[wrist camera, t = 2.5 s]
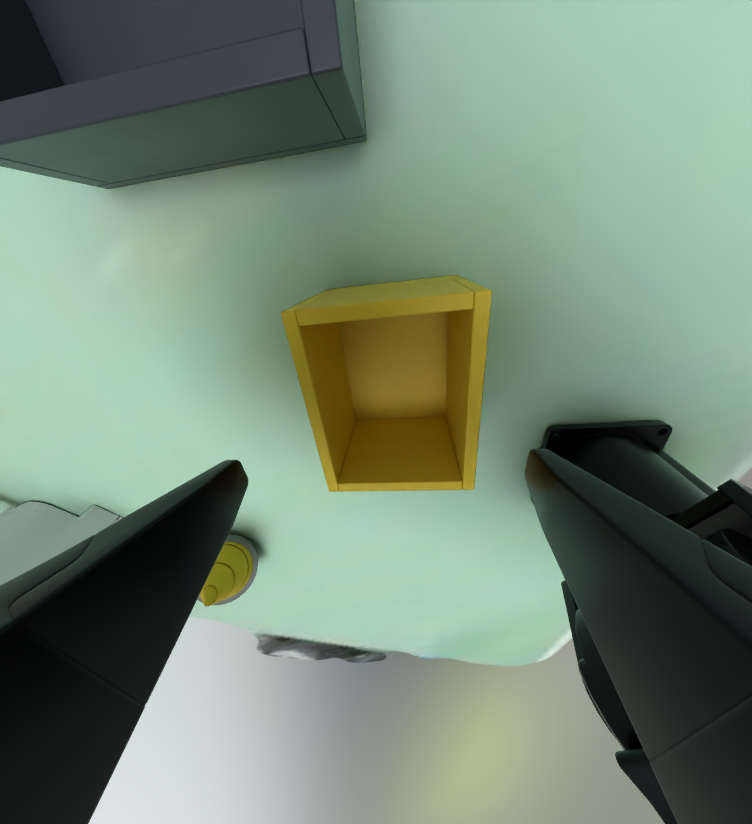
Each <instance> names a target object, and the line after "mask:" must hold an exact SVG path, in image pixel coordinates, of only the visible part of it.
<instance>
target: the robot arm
mask: <svg viewBox="0 0 752 824" xmlns="http://www.w3.org/2000/svg"><path fill="white" fill-rule="evenodd" d="M658 430H659V431H658ZM558 432H559V433H558ZM671 432H672V427H671V426H670V425H668V424H667V423H665V422H663V421H649V422H625V423H601V424H577V425H555V426H552V427H550V428H548V429H547V431H546V433H545V437H544V441H543V446H542V449H532V450H530V451H529V453H528V458H527V464H526V469H525V478H526V482H527V485H528V488H529V491H530V494H531V500H532V502H533V504H534V506H535V509H536V512H537V515H538V518H539V521H540V524H541V527H542V529H543V532H544V534H545V536H546V539H547V541H548V543H549V545H550V547H551V549H552V552H553V554H554V556H555V558H556V560H557V562H558V565H559V567H560V569H561V571H562V573H563V575H564V578H565V581H563V582H562V583H561V585H562V589H563V594H564V599H565V604H566V608H567V613H568V618H569V623H570V627H571V632H572V637H573V642H574V646H575V651H576V656H577V661H578V666H579V672H580V674H581V676H582V680H583V683H584V685H585V688H586V691H587V693H588V695H589V697H590V699H591V700H592V702H593V704H594V706H595V708H596V710H597V711H598V713H599V715H600V717H601V718H602V720H603V721H604V723H605V724H606V726H607V727H608V729H609V730H610V732H611V733H612V734H613V736H614V737H615V738H616V739H617V741H618V742H619V743H620V745H621V746H622V748H623V749H624V750H623V751H618V752H616V753H615V756H616V760H617V762H618V764H619V766H620V767H621V769H622V770H623V771H624V772H625V773H626V775H627V776H628V777H629V778H630V779H631V780H632V782H633V783H634V784H635V785H636V786H637V787H638V789H639V790H640V791H641V792H642V793H643V795H644V796H645V797H646V798H647V799H648V800H649V802H650V803H651V804H652V806H653V807H654V808H655V810H656V811H657V813H658V814H659V815H660V817H661V818H662V820H663V821H664V823H665V824H752V489H750V488H748V487H746V486H744V485H742V484H740V483H738V482H736V481H735V480H733V479H730V480H728V481H727V482H725V483H723V484H722V485H720V486H719V487H717V488H718V489H719V490H718V491H715V490H713V489H712V488H711V487H709V486H708V485H707V484H705V483H704V482H703V481H702V480H700V479H699V478H698V477H696V476H695V475H694V474H692V473H691V472H690V471H689V470H687V469H686V468H685V467H683V466H682V465H681V464H679V463H678V462H677V461H676V460H674V459H673V458H672V457H670V456H669V455H668V454H666V453H665V452H664V451H663V448H664V446H665V444H666V442H667V440H668V438H669V436H670V434H671ZM555 433H558V434H557V435H555V436H553V435H554V434H555ZM247 486H248V477H247V475H246V473H245V471H244V469H243V466H242V464H241V462H240V461H238V460H225V461H223V462H221V463H220V464H218V465H216V466H214V467H213V468H211V469H209V470H207V471H205V472H204V473H202V474H200V475H198V476H197V477H195V478H193V479H191V480H190V481H188V482H186V483H184V484H183V485H181V486H179V487H177V488H175V489H174V490H172V491H170V492H168V493H167V494H165V495H163V496H161V497H160V498H158V499H156V500H154V501H153V502H151V503H149V504H147V505H145V506H144V507H142V508H140V509H138V510H137V511H135V512H133V513H131V514H130V515H128V516H126V517H124V518H122V519H121V520H119V521H117V522H115V523H114V524H112V525H110V526H108V527H107V528H105V529H103V530H101V531H100V532H98V533H97V534H96V535H92V536H91V537H89V538H87V539H85V540H84V541H82V542H80V543H78V544H76V545H75V546H73V547H71V548H69V549H67V550H66V551H64V552H62V553H60V554H58V555H57V556H55V557H53V558H51V559H49V560H48V561H46V562H44V563H42V564H40V565H38V566H36V567H34V568H32V569H31V570H29V571H27V572H25V573H23V574H21V575H19V576H17V577H16V578H14V579H12V580H10V581H8V582H6V583H4V584H2V585H0V824H88V823H89V821H90V819H91V817H92V815H93V813H94V811H95V809H96V807H97V805H98V802H99V801H100V798H101V796H102V794H103V792H104V790H105V788H106V786H107V784H108V782H109V780H110V778H111V776H112V774H113V772H114V770H115V768H116V765H117V763H118V761H119V759H120V757H121V755H122V753H123V751H124V749H125V747H126V745H127V743H128V741H129V739H130V737H131V735H132V732H133V731H134V728H135V726H136V724H137V722H138V720H139V718H140V716H141V714H142V712H143V710H144V707H145V704H146V703H147V701H148V699H149V697H150V695H151V693H152V691H153V689H154V687H155V685H156V683H157V681H158V679H159V677H160V675H161V672H162V670H163V668H164V666H165V664H166V662H167V660H168V658H169V656H170V654H171V652H172V650H173V648H174V646H175V644H176V642H177V640H178V638H179V636H180V633H181V632H182V629H183V627H184V625H185V623H186V621H187V619H188V617H189V615H190V613H191V611H192V609H193V607H194V605H195V603H196V601H197V599H198V597H199V595H200V592H201V590H202V588H203V586H204V584H205V582H206V580H207V578H208V576H209V574H210V572H211V570H212V568H213V566H214V564H215V562H216V560H217V558H218V556H219V553H220V551H221V549H222V547H223V545H224V543H225V541H226V539H227V537H228V535H229V533H230V531H231V528H232V526H233V523H234V521H235V518H236V516H237V513H238V510H239V508H240V505H241V502H242V500H243V497H244V494H245V492H246V489H247Z"/></svg>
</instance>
